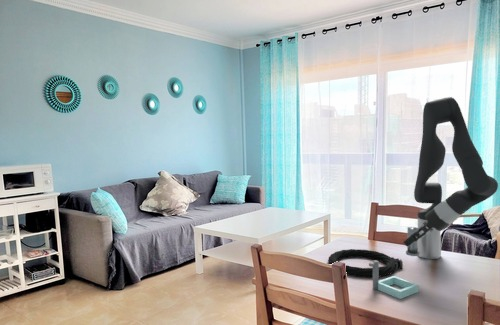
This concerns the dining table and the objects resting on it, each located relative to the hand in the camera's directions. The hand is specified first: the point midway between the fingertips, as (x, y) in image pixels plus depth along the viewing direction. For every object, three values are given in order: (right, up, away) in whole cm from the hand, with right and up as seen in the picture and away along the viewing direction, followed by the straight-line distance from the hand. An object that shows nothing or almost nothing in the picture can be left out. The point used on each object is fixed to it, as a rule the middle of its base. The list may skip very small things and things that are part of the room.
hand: (407, 242), depth 137 cm
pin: (+2, -4, -1) cm, 5 cm away
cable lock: (-11, -14, +15) cm, 23 cm away
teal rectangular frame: (-9, -15, -10) cm, 20 cm away
